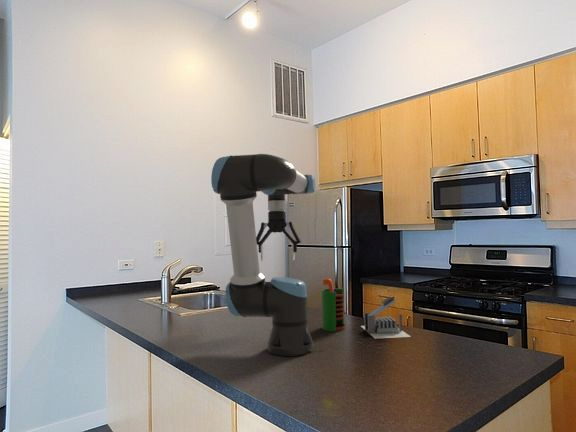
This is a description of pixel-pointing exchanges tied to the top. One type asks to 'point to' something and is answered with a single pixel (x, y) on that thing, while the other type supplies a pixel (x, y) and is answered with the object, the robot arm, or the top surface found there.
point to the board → (393, 335)
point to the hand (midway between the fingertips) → (277, 260)
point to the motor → (332, 307)
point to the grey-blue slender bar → (383, 306)
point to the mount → (371, 323)
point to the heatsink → (385, 325)
